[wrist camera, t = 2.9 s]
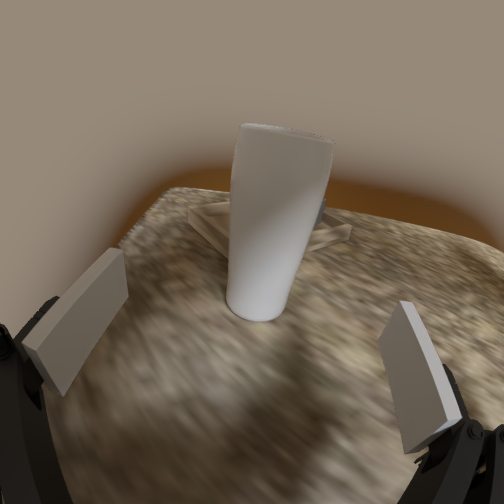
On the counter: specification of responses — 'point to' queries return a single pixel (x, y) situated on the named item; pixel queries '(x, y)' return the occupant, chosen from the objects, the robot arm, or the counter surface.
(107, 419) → the counter surface
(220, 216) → the tray
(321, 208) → the cube
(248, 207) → the drinking glass
